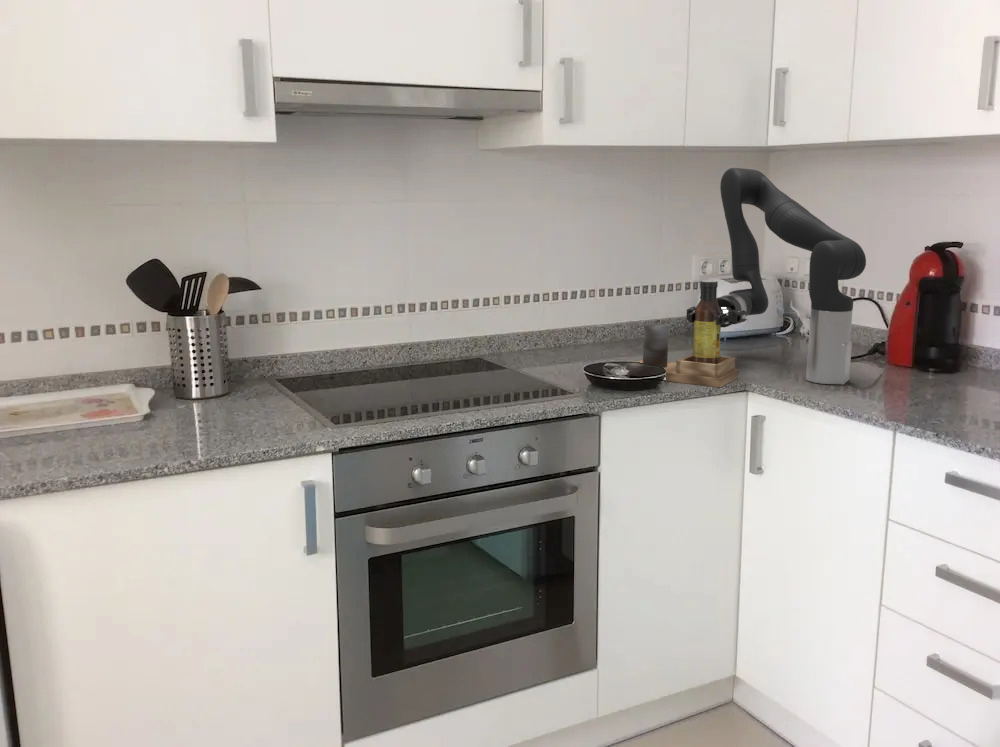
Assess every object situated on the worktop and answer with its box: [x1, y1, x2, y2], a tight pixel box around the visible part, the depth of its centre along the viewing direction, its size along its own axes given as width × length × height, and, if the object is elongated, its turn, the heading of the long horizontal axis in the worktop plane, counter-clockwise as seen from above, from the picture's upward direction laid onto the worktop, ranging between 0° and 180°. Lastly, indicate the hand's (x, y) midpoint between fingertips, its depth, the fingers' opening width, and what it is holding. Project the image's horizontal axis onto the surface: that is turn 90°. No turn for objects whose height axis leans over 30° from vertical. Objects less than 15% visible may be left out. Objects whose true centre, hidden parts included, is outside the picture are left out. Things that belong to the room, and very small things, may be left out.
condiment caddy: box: [636, 323, 739, 388], centre depth 216 cm, size 25×13×12 cm, turn 58°
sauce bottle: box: [692, 279, 722, 364], centre depth 211 cm, size 7×6×20 cm
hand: (704, 319), depth 209 cm, fingers closed on sauce bottle, 6 cm apart
